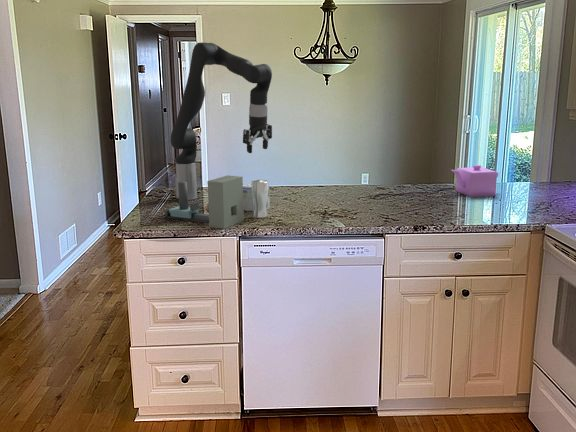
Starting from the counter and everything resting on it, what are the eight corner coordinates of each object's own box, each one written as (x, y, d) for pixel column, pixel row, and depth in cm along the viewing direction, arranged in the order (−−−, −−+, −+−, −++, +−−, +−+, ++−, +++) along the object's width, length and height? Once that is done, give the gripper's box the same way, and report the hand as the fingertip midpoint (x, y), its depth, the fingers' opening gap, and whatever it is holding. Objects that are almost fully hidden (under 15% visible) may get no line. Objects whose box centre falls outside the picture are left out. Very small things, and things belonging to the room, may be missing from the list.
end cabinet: (208, 226, 217) (206, 180, 212) (228, 218, 229) (226, 175, 224) (224, 228, 213) (222, 182, 209) (243, 220, 225) (242, 176, 221)
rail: (165, 217, 232) (164, 210, 231) (173, 214, 236) (172, 207, 235) (214, 223, 220) (214, 216, 220) (222, 221, 225) (221, 213, 224)
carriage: (169, 216, 229) (167, 183, 226) (180, 212, 235) (178, 180, 232) (190, 219, 224) (189, 185, 221) (201, 215, 230) (199, 182, 227)
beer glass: (251, 214, 235) (250, 179, 231) (268, 214, 235) (267, 179, 232) (252, 218, 228) (251, 182, 225) (269, 218, 229) (268, 182, 225)
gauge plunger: (206, 213, 222) (205, 204, 221) (212, 211, 225) (211, 202, 224) (226, 216, 218) (226, 206, 217) (232, 214, 221) (232, 204, 220)
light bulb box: (270, 208, 245) (269, 184, 243) (264, 212, 239) (264, 187, 237) (247, 207, 249) (247, 183, 246) (241, 210, 243) (241, 186, 240)
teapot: (442, 191, 279) (444, 163, 276) (488, 189, 283) (490, 162, 280) (456, 197, 265) (458, 168, 261) (504, 195, 269) (507, 166, 265)
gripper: (265, 109, 238) (264, 145, 245) (239, 114, 229) (238, 151, 236) (277, 113, 233) (275, 149, 240) (250, 118, 224) (250, 156, 231)
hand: (257, 150), depth 238 cm, fingers open, 8 cm apart
